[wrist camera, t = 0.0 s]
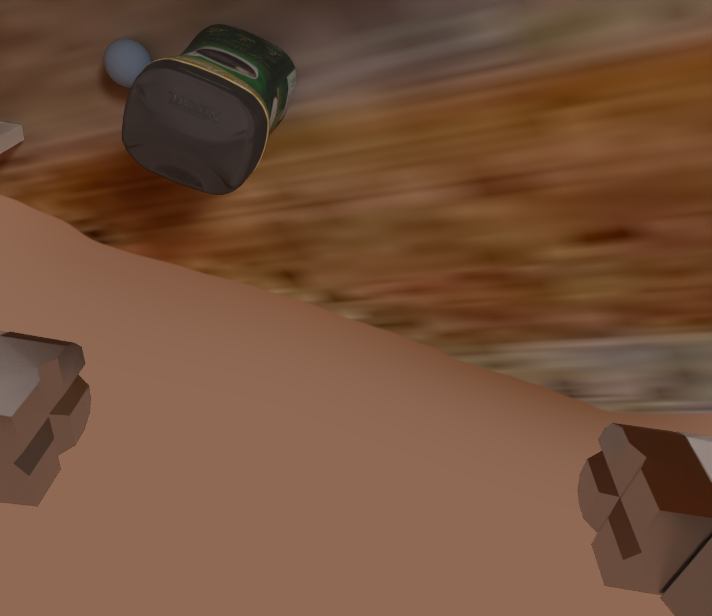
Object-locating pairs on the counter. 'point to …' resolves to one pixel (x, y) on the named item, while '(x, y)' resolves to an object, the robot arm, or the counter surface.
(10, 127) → the white slatted basket
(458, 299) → the counter surface
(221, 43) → the coffee jar
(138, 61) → the ball
